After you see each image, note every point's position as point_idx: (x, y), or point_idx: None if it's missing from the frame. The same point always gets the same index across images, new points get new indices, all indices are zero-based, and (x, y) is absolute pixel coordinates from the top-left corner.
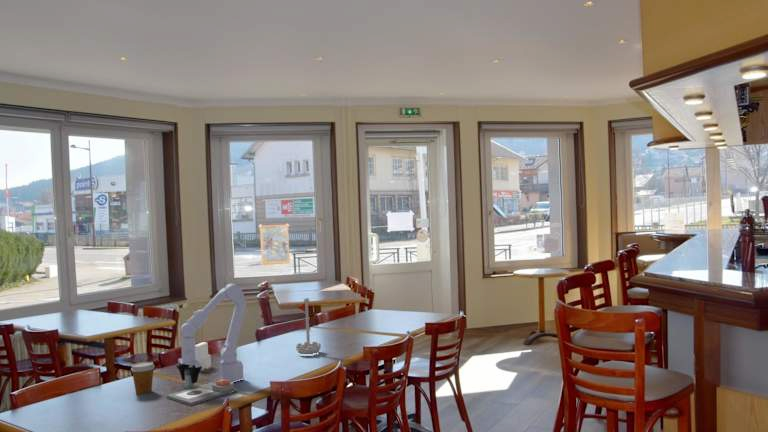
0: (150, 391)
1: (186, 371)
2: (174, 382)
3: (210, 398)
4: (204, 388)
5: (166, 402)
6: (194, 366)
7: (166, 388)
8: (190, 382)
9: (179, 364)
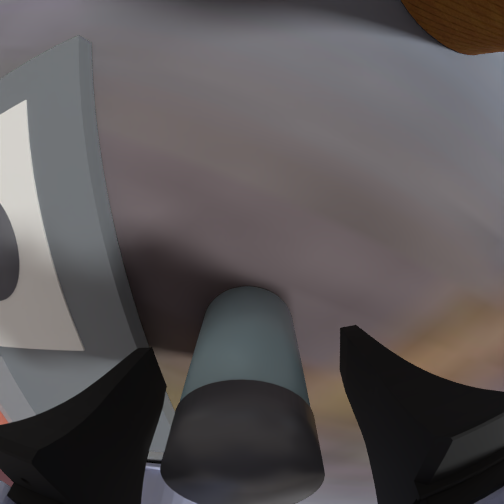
0: (413, 15)
1: (192, 433)
2: (492, 289)
3: None
4: (49, 353)
5: (12, 36)
6: (19, 500)
7: (415, 158)
8: (194, 350)
9: (500, 451)
